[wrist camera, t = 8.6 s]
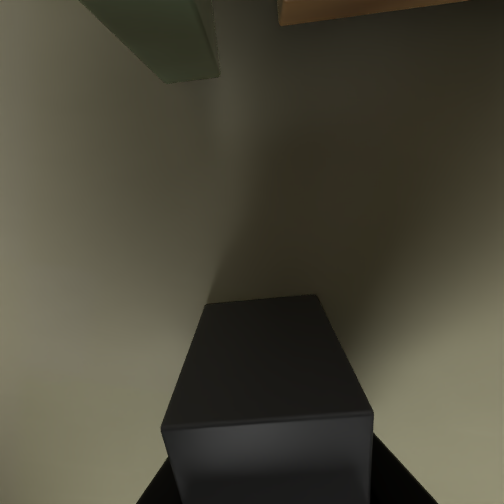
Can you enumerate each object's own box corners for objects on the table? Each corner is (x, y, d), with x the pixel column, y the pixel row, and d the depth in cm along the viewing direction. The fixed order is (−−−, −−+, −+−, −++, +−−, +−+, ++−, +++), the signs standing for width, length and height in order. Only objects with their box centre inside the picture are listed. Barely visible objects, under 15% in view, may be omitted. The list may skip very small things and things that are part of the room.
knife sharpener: (322, 457, 10) (391, 748, 5) (234, 464, 10) (214, 753, 5) (316, 292, 8) (426, 512, 3) (204, 303, 8) (119, 530, 3)
